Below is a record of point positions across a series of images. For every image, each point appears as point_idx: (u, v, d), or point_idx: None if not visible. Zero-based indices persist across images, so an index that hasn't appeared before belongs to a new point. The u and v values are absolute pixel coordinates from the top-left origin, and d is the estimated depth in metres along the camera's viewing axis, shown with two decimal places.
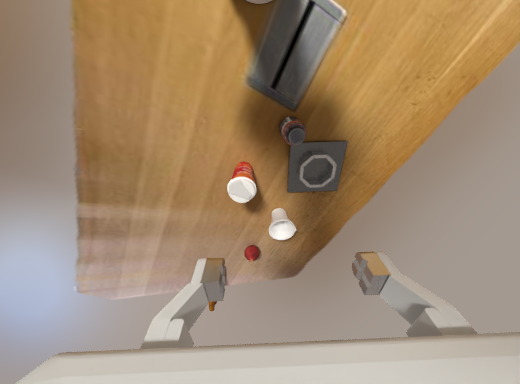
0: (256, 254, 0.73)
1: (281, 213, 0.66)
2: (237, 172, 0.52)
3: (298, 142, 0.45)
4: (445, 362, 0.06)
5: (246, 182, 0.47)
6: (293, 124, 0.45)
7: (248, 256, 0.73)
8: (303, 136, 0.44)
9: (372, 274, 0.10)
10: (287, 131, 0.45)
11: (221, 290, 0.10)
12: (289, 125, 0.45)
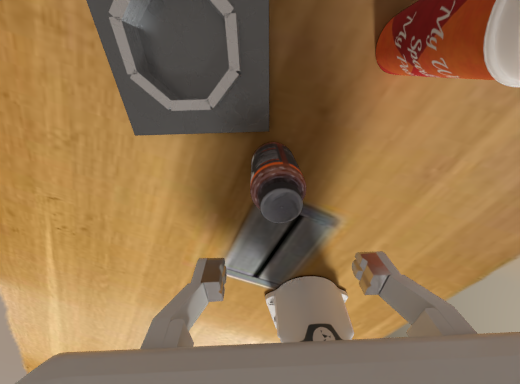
0: None
1: None
2: None
3: (276, 195, 0.16)
4: (445, 362, 0.06)
5: None
6: None
7: None
8: (264, 208, 0.17)
9: (372, 274, 0.10)
10: None
11: (221, 290, 0.10)
12: None
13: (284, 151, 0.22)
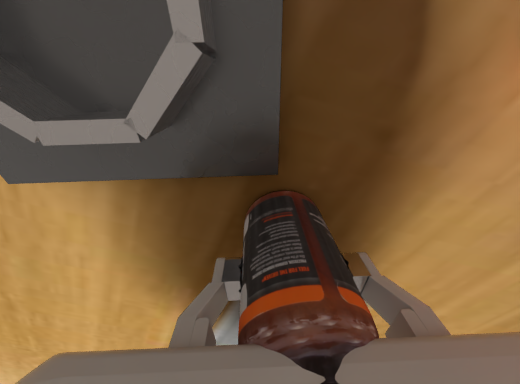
0: None
1: None
2: None
3: None
4: (445, 362, 0.06)
5: None
6: None
7: None
8: None
9: (352, 275, 0.10)
10: None
11: (240, 289, 0.10)
12: None
13: (311, 222, 0.11)
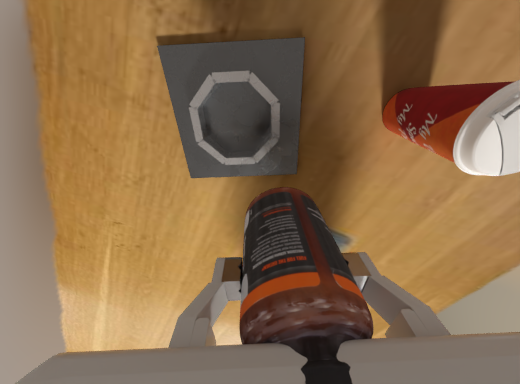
0: None
1: None
2: None
3: None
4: (445, 362, 0.06)
5: (485, 171, 0.15)
6: None
7: None
8: None
9: (352, 275, 0.10)
10: None
11: (240, 289, 0.10)
12: None
13: (309, 216, 0.11)
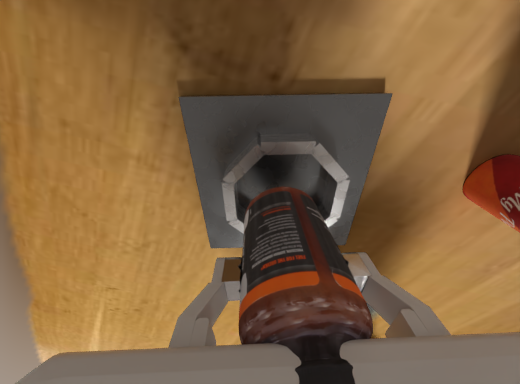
0: None
1: None
2: None
3: None
4: (445, 362, 0.06)
5: None
6: None
7: None
8: None
9: (352, 275, 0.10)
10: None
11: (240, 289, 0.10)
12: None
13: (309, 216, 0.11)
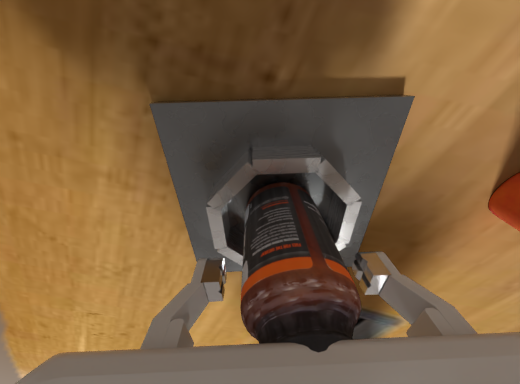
0: None
1: None
2: None
3: None
4: (445, 362, 0.06)
5: None
6: None
7: None
8: None
9: (372, 274, 0.10)
10: None
11: (221, 290, 0.10)
12: None
13: (305, 209, 0.12)
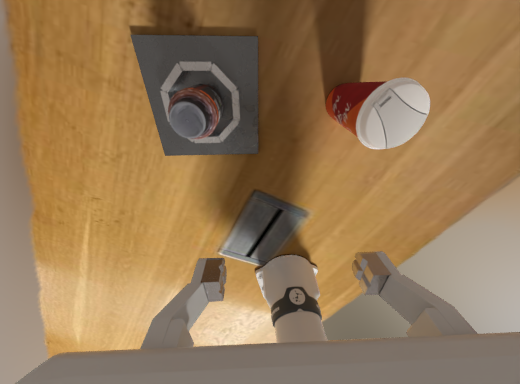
0: None
1: None
2: None
3: (179, 108, 0.20)
4: (445, 362, 0.06)
5: (376, 145, 0.22)
6: (201, 136, 0.24)
7: None
8: (173, 122, 0.21)
9: (372, 274, 0.10)
10: (209, 124, 0.23)
11: (221, 290, 0.10)
12: (208, 134, 0.24)
13: (205, 87, 0.26)
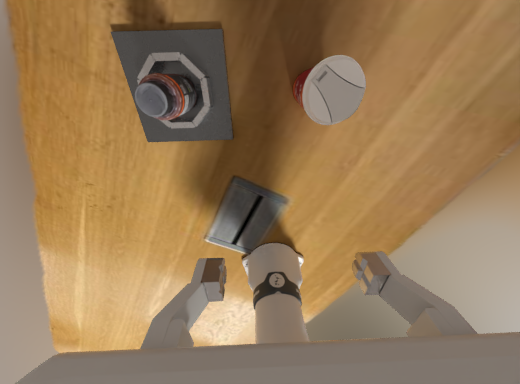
0: None
1: None
2: None
3: (143, 88, 0.23)
4: (445, 362, 0.06)
5: (321, 119, 0.24)
6: (168, 116, 0.27)
7: None
8: (138, 101, 0.24)
9: (372, 274, 0.10)
10: (174, 105, 0.26)
11: (221, 290, 0.10)
12: (174, 115, 0.27)
13: (175, 75, 0.29)
